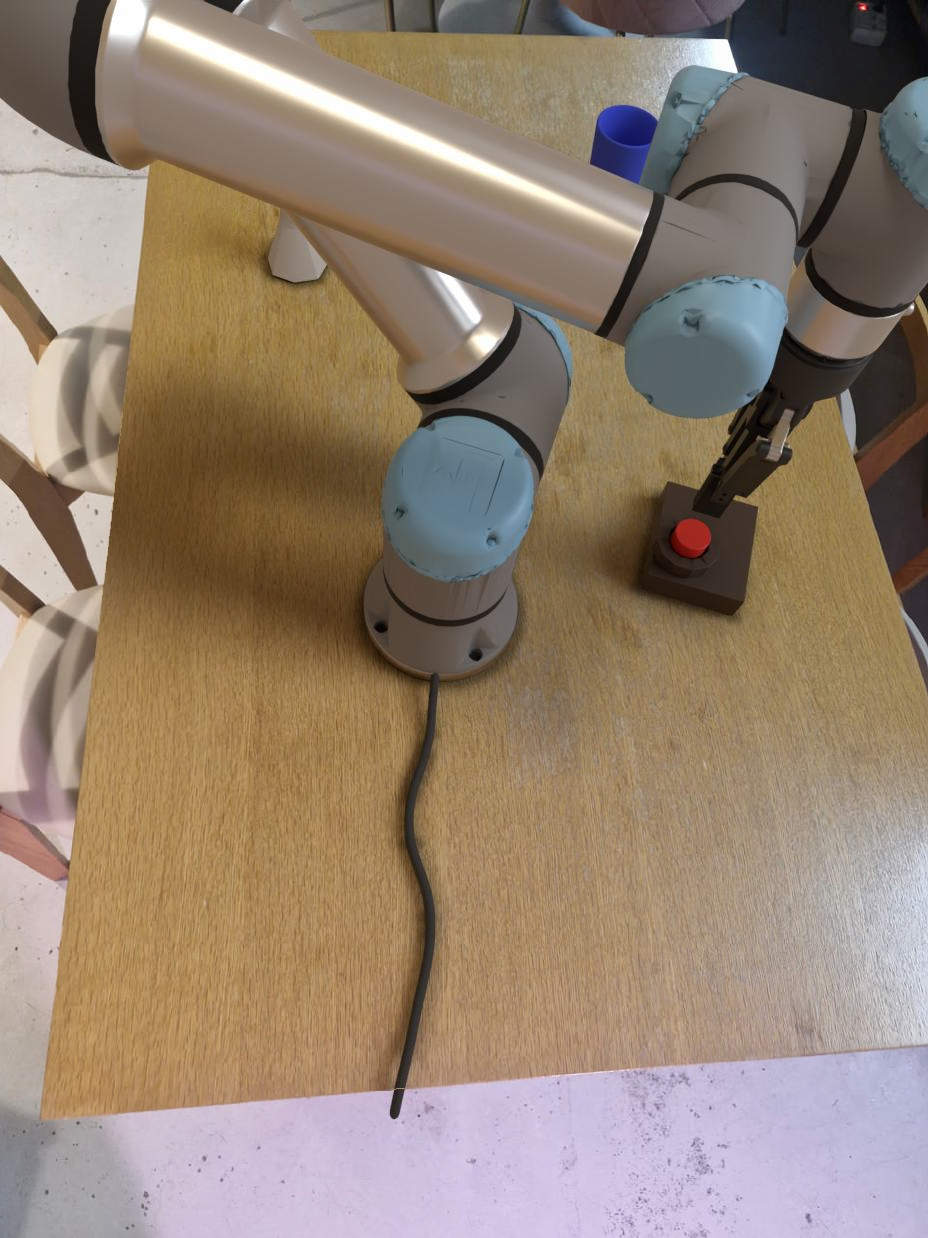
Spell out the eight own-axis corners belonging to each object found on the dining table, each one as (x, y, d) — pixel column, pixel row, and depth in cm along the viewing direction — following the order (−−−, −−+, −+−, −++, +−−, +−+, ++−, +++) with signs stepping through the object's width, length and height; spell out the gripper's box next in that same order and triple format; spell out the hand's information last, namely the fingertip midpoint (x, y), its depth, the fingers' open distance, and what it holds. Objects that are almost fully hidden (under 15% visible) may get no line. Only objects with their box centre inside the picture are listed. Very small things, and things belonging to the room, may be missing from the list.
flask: (325, 286, 103) (320, 215, 94) (264, 281, 102) (253, 209, 93) (330, 244, 106) (326, 171, 97) (271, 238, 105) (261, 165, 96)
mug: (664, 229, 113) (689, 160, 104) (575, 209, 113) (592, 138, 104) (670, 188, 116) (694, 118, 107) (584, 169, 116) (601, 97, 107)
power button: (702, 562, 85) (708, 553, 84) (667, 552, 85) (673, 543, 84) (707, 533, 87) (713, 524, 85) (673, 523, 87) (678, 514, 85)
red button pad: (732, 616, 88) (751, 594, 84) (637, 588, 88) (651, 564, 84) (746, 522, 93) (765, 497, 89) (656, 496, 94) (670, 470, 89)
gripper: (875, 409, 56) (736, 577, 77) (885, 275, 62) (753, 465, 83) (765, 377, 56) (656, 553, 78) (786, 246, 62) (679, 444, 83)
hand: (706, 508), depth 80 cm, fingers closed
